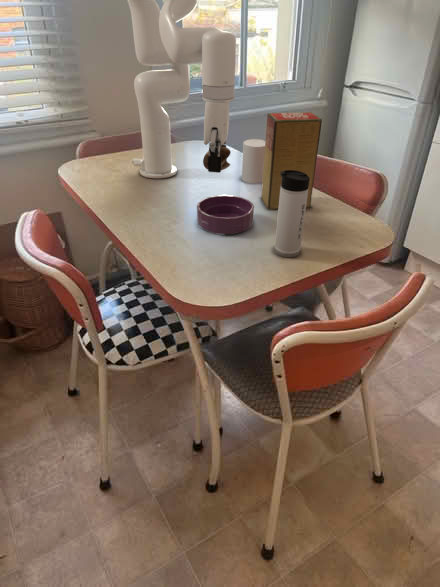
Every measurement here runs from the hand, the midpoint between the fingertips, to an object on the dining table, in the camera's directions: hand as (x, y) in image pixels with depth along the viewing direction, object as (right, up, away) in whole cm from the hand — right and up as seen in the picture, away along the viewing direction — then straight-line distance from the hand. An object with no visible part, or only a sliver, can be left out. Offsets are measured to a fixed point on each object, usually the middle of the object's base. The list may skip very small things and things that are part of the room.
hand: (217, 165), depth 113 cm
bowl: (+2, -14, +8) cm, 16 cm away
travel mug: (+17, -23, -4) cm, 29 cm away
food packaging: (+20, -6, +20) cm, 29 cm away
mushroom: (0, -1, 0) cm, 1 cm away
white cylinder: (+12, +6, +36) cm, 38 cm away
